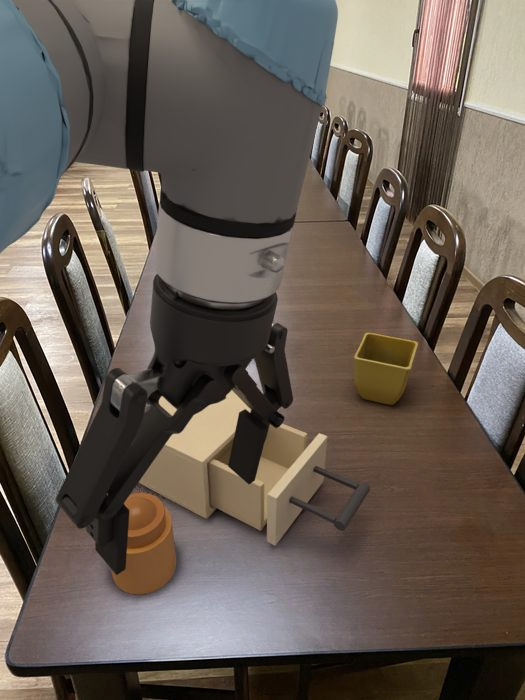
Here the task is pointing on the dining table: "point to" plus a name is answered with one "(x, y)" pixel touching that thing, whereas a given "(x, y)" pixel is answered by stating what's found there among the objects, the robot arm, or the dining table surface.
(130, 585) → the orange dome-capped jar
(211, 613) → the dining table surface
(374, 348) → the flower pot
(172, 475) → the cabinet
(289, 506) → the drawer
